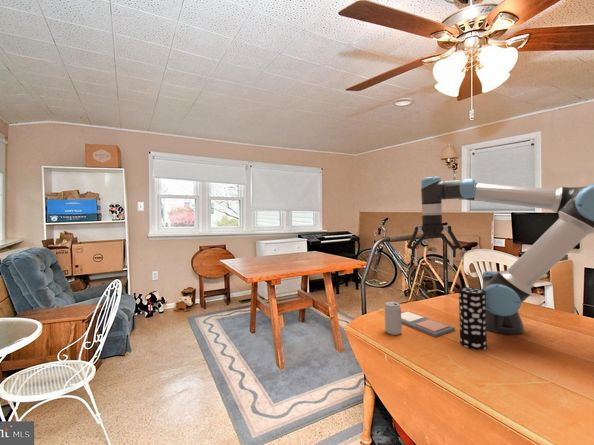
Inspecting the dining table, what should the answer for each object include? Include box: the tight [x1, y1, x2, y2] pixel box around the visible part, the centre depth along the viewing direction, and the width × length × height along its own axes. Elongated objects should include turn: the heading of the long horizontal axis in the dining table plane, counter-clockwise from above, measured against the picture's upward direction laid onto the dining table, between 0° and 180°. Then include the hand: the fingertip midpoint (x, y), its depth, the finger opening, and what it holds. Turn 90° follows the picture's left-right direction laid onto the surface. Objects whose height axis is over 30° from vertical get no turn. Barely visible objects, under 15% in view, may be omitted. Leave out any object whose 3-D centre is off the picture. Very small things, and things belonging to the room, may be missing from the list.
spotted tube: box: [458, 287, 488, 351], centre depth 104 cm, size 8×8×20 cm
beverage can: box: [384, 301, 403, 336], centre depth 117 cm, size 6×6×12 cm
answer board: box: [401, 310, 456, 338], centre depth 125 cm, size 24×12×2 cm, turn 28°
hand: (433, 265), depth 119 cm, fingers open, 13 cm apart
